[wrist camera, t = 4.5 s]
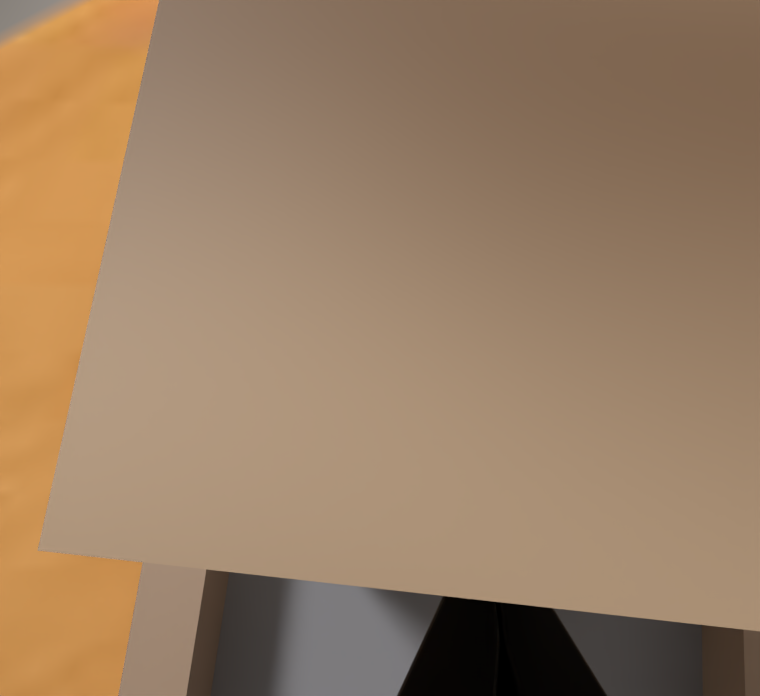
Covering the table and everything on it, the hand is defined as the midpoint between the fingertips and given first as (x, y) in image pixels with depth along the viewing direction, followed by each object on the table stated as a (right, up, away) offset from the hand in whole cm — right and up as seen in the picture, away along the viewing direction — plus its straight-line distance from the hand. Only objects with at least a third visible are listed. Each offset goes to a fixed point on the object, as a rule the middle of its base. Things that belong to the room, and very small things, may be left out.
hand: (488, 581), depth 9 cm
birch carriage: (+1, +1, +6) cm, 6 cm away
